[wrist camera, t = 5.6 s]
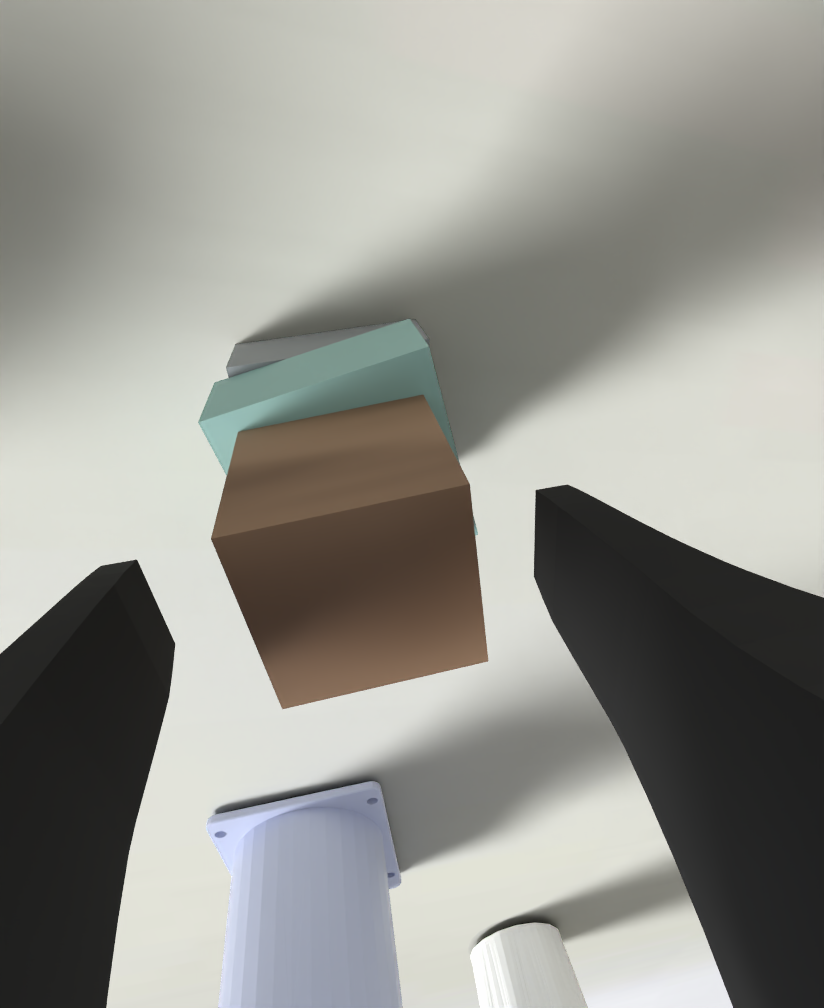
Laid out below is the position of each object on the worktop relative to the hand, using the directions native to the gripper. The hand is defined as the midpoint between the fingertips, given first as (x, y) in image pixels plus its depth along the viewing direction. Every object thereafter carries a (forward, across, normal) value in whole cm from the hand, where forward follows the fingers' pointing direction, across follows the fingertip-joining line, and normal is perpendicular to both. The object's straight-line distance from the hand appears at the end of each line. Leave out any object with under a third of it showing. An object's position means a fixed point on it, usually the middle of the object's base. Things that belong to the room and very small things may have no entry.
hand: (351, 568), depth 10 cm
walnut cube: (+3, 0, 0) cm, 3 cm away
